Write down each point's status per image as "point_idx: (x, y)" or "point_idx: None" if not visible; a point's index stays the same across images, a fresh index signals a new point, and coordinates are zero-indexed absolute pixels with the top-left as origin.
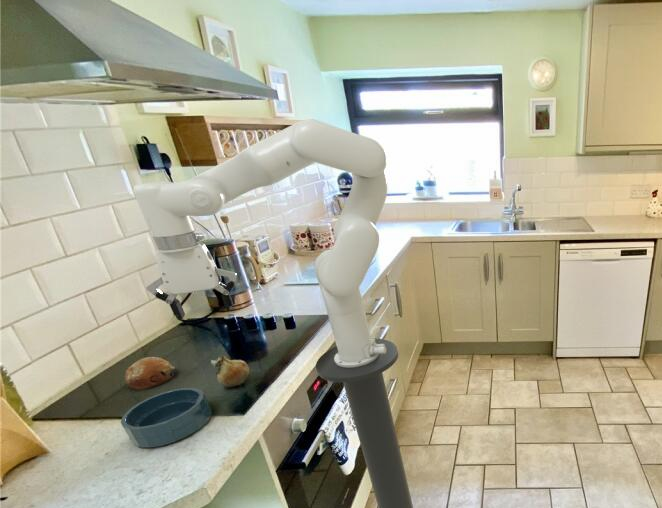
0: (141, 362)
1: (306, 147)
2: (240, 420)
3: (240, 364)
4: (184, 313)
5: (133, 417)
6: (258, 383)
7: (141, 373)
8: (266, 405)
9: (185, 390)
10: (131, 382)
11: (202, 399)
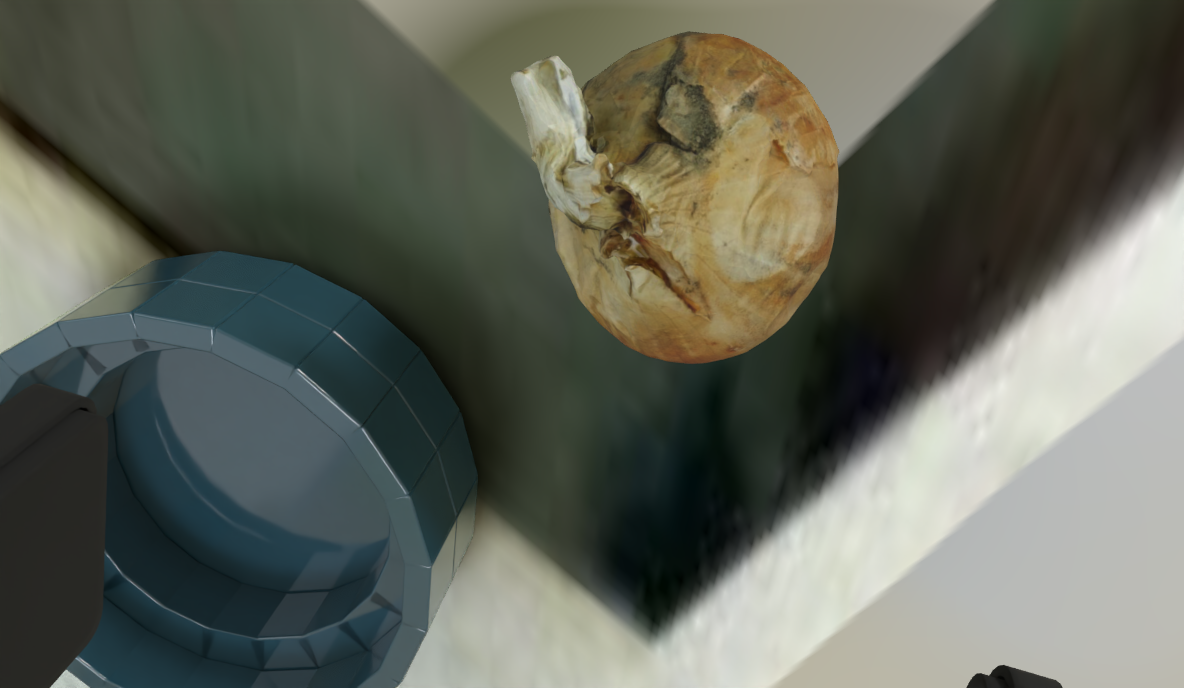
0: None
1: None
2: (622, 675)
3: (768, 309)
4: (89, 446)
5: None
6: (843, 299)
7: None
8: (796, 643)
9: (304, 402)
10: None
11: (423, 638)
